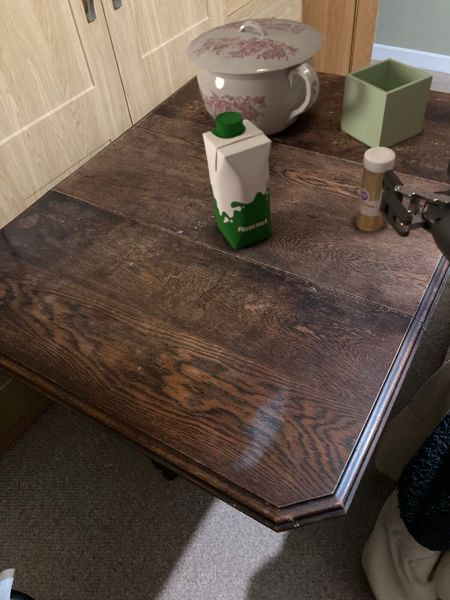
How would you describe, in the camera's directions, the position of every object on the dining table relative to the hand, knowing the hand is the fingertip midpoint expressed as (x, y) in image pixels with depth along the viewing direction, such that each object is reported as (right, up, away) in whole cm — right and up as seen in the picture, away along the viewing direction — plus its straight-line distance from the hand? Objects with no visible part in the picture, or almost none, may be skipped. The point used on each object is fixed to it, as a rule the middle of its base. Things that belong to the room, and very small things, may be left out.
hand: (418, 170), depth 63 cm
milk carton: (-21, -5, +22) cm, 31 cm away
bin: (+8, +18, +40) cm, 45 cm away
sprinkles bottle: (0, -4, +20) cm, 21 cm away
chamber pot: (-17, +23, +48) cm, 56 cm away
